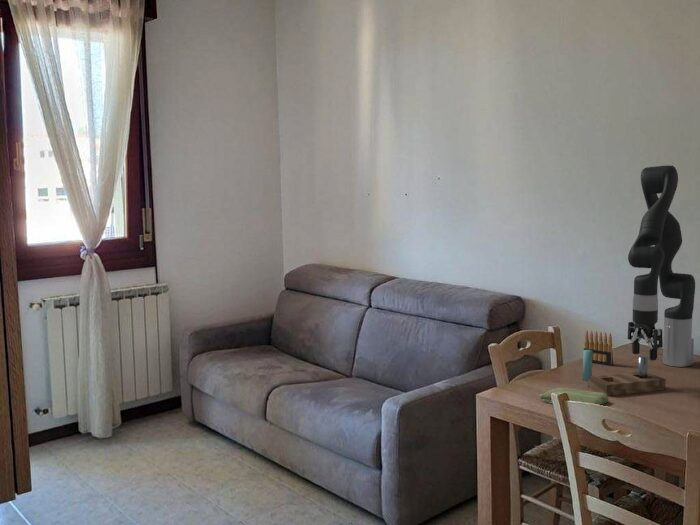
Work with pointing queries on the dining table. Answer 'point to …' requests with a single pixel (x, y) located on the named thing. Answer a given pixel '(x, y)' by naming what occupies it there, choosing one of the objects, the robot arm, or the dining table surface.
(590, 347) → the ammunition clip
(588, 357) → the teal peg
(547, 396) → the washcloth
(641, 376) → the steel peg
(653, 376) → the hole block
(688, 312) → the robot arm
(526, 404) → the dining table surface
